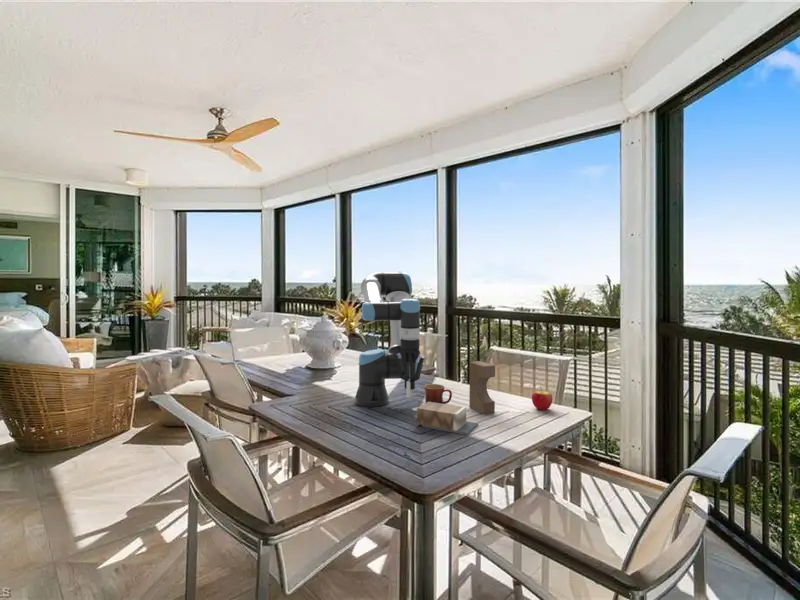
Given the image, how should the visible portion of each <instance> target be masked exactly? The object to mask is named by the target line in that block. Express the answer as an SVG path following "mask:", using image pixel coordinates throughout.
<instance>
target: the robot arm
mask: <svg viewBox="0 0 800 600" xmlns="http://www.w3.org/2000/svg"><path fill="white" fill-rule="evenodd" d="M412 282H413V281H412V279H411V276H410V274H409V273H408V272H404V271H403V272H402V271H397V272H395V271H391V272H389V271H386V272H385V271H378V272H377V271H376V272H373V273H371V274H369V275H367V276H366V277H365V278H364V279H363V280H362V282H361V284H360V291H361V293H362V295H363V296H364V302H363V303H362V305H361V317H362V320H363V321H368V322H369V321H370V322H374V321H377V322H378V321H381V322H383V321H390V337H391V338H390V339H391V340H390V341H391V347H390V348H388V352H386V351H385V350H384V349H381V348H380V349H377V348H376V349H370V350H366V351H363V352H361V353H360V354H359V357H358V388H357V391H356V394H355V398H354V403H355V404H356V405H358V406H359V407H360V406H361V407H366V408H367V407H370V408H372V407H373V408H374V407H381V406H385V405H387V404H389V401H390V397H389V393H388V390H387V386H386V380H391V379H392V380H393V379H394V380H398V379H401V380H403V381H404V389H406V398H407V399H411V398H413V397H414V396H413V395H414V390H415V387H416V381H418V380H420V378H421V373H422V369H423V365H424V362H425V361H426V359H427V357H426V356H423V355H421V350H420V341H421V340H420V337H421V335H420V331H421V330H420V325H421V324H420V321H421V320H420V317H421V316H420V315H421V314H420V313H421V311H420V310H421V303H420V299H417V298H416V299H415V298H410V296H412V294H413V285H412ZM382 296H383V297H385V300H386V301H383V298H382Z"/></svg>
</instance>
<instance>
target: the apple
mask: <svg viewBox="0 0 800 600" xmlns="http://www.w3.org/2000/svg"><path fill="white" fill-rule="evenodd" d="M540 390H541V391H537V390H536V391H533V393H532V395H531V402H532V404H533V406H534V407H535V408H536V409H537V410H540V411H546V410H549V408H550V407H551V406H552V403H553V395H552V393H551V392H549V391H543V389H542V387H541V386H540Z"/></svg>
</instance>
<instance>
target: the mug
mask: <svg viewBox="0 0 800 600" xmlns="http://www.w3.org/2000/svg"><path fill="white" fill-rule="evenodd" d="M423 390H424V393H425V394H424V395H425V400H424V402H425V403H427V402H434V403H441V404H448V403H450V402H451V400H452V397H453V392H452V390H451V389H450V388H445V385H443V384H438V383H429V384H425V385H424V386H423ZM445 392H447V393H449V397H448V399H447V400H444V397H443V396H444V393H445ZM425 403H424V404H425Z"/></svg>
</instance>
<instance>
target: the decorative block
mask: <svg viewBox="0 0 800 600" xmlns="http://www.w3.org/2000/svg"><path fill="white" fill-rule="evenodd" d="M494 377H496V365H495V364H492V363H489V362H488V363H487V362H485V361H481V360H476V361H470V362H469V399H468V400H469V403H468V404H469V408H470V409H472V410H474V411H476V412H479V413H481V414H483V415H488V414H495V412H496V411H495V407H496V405H495V403H496V402H495V400H493V399H492V398H491V397H490V394H489V392H488V387H487V386H488V385H487V384H488V381H489V379H491V378H494Z"/></svg>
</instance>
